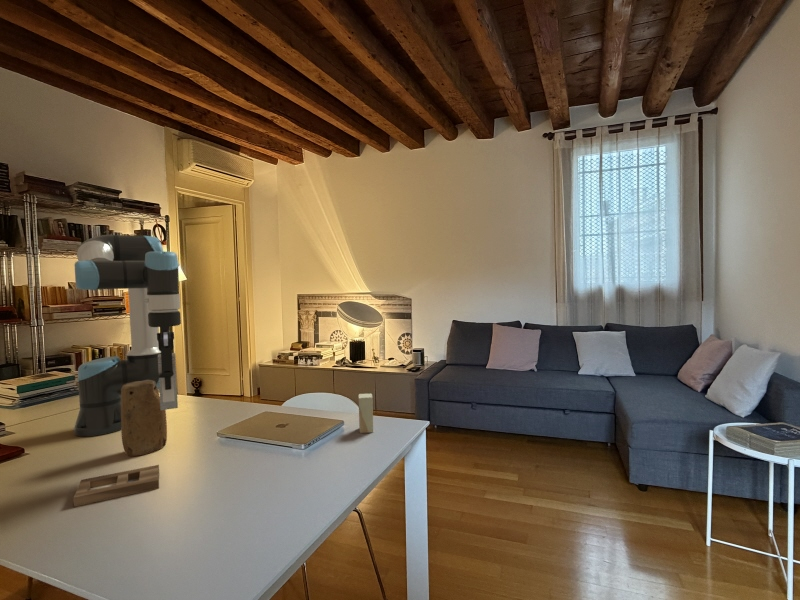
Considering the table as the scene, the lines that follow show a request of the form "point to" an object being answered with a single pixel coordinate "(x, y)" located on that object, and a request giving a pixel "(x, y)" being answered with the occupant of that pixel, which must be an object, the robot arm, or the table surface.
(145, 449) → the block
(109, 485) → the socket block
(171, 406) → the steel bit
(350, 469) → the table surface
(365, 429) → the box
